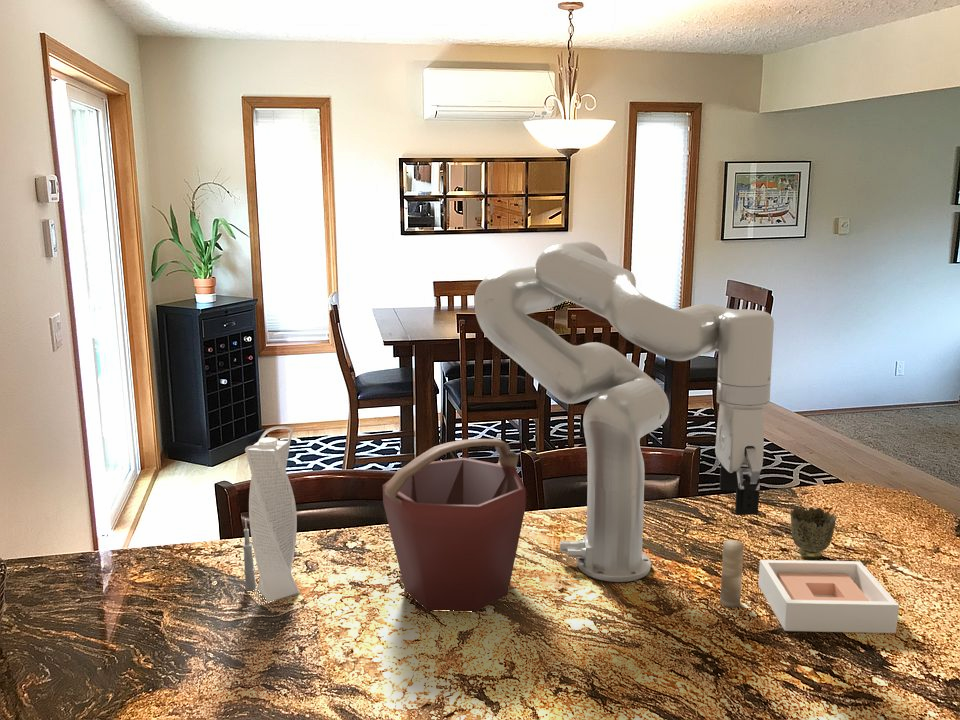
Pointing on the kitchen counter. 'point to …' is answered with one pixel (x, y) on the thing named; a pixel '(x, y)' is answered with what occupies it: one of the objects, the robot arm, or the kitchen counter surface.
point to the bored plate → (820, 586)
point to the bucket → (456, 525)
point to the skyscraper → (270, 520)
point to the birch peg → (731, 573)
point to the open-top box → (829, 613)
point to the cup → (812, 531)
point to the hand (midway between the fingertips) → (737, 501)
